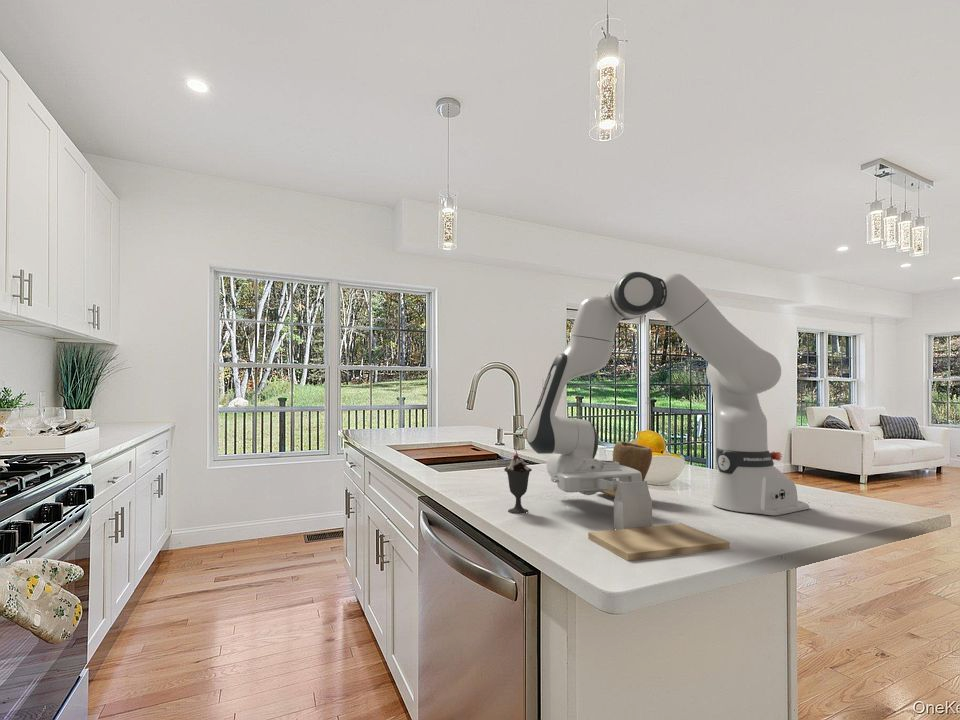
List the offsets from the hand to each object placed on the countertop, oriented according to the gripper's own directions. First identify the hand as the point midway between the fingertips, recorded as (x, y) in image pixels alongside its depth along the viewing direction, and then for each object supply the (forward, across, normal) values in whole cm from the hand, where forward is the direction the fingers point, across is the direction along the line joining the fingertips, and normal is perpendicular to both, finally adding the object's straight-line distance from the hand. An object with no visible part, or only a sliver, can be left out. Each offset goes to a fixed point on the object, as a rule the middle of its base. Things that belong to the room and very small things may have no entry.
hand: (617, 486), depth 114 cm
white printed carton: (+6, 0, +8) cm, 10 cm away
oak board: (+15, -1, +8) cm, 17 cm away
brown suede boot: (-21, +16, +8) cm, 28 cm away
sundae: (-16, -17, +8) cm, 25 cm away
